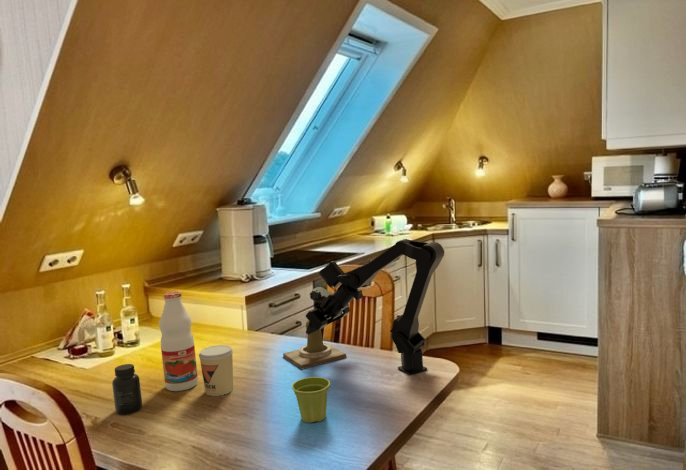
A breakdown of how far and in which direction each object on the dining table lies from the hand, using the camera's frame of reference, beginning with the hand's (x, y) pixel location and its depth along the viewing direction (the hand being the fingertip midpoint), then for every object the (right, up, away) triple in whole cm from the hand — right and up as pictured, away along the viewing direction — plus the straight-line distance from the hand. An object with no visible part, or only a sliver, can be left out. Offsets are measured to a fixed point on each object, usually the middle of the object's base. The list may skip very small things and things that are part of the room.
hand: (314, 329), depth 180 cm
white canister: (-26, -14, -23) cm, 37 cm away
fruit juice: (-38, -14, -17) cm, 44 cm away
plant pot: (+2, -15, -43) cm, 46 cm away
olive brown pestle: (0, -8, +1) cm, 8 cm away
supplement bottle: (-48, -16, -32) cm, 60 cm away
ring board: (0, -9, 0) cm, 9 cm away
